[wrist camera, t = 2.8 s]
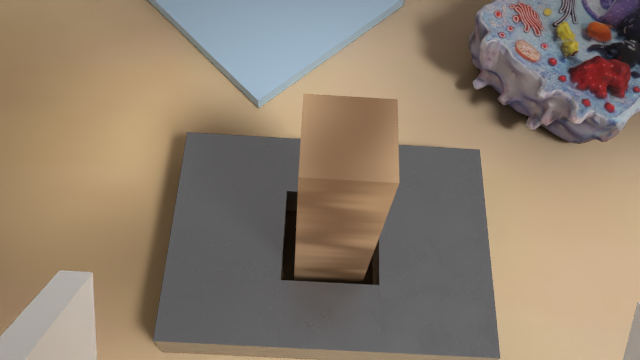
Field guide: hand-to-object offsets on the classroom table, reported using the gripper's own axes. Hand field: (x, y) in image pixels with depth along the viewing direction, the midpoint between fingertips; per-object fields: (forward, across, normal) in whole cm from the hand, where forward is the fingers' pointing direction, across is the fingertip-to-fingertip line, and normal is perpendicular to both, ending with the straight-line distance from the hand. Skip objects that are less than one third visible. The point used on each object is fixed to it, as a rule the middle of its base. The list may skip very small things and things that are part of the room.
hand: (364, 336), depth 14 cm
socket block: (+24, 0, -9) cm, 26 cm away
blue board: (+40, -5, +7) cm, 41 cm away
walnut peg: (+24, 0, -9) cm, 26 cm away
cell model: (+37, +20, +4) cm, 42 cm away
